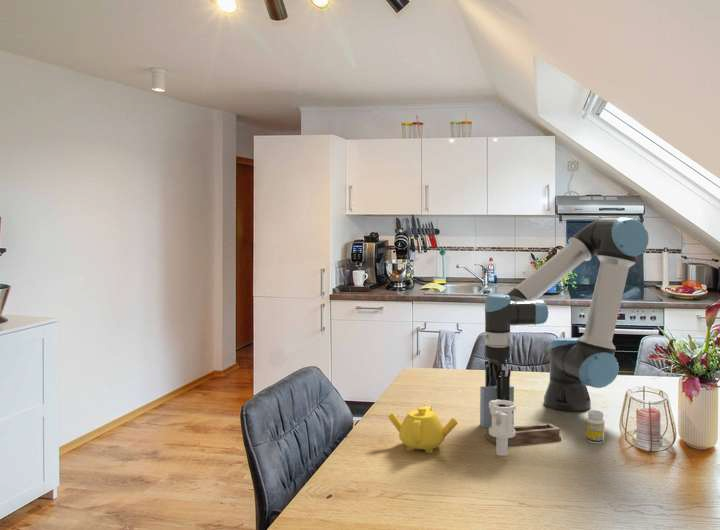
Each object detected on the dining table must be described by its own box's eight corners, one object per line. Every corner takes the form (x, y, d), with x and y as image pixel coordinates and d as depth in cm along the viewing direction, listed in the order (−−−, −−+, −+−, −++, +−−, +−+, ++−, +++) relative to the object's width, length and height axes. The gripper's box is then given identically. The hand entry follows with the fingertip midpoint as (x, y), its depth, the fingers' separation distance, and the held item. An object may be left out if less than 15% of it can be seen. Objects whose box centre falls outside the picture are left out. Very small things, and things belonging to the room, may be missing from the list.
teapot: (463, 440, 178) (463, 402, 178) (451, 463, 162) (451, 421, 161) (396, 432, 185) (396, 396, 184) (378, 454, 168) (378, 414, 167)
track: (546, 430, 185) (547, 421, 185) (561, 440, 177) (561, 429, 177) (484, 436, 181) (484, 426, 181) (496, 446, 173) (496, 435, 173)
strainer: (483, 451, 169) (483, 397, 168) (504, 447, 172) (505, 394, 171) (498, 460, 163) (499, 404, 162) (520, 456, 166) (521, 401, 165)
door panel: (509, 421, 194) (509, 384, 193) (513, 424, 191) (513, 386, 190) (479, 424, 192) (479, 386, 191) (483, 427, 189) (483, 388, 188)
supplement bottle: (591, 437, 180) (591, 408, 179) (607, 441, 176) (607, 412, 176) (583, 441, 176) (584, 412, 176) (599, 445, 173) (600, 416, 172)
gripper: (474, 340, 197) (474, 411, 199) (498, 351, 180) (498, 429, 182) (496, 339, 199) (495, 410, 201) (522, 350, 182) (521, 427, 183)
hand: (496, 419), depth 191 cm, fingers open, 4 cm apart
